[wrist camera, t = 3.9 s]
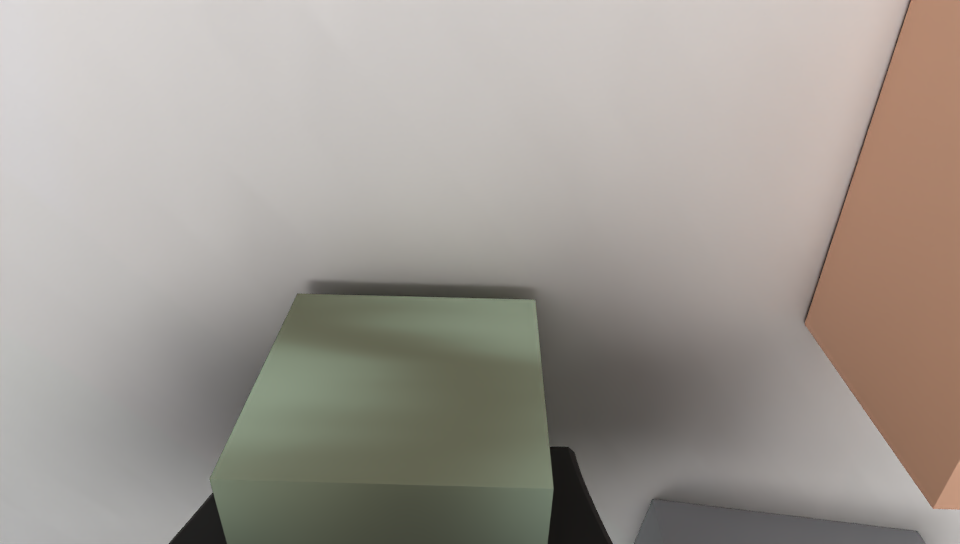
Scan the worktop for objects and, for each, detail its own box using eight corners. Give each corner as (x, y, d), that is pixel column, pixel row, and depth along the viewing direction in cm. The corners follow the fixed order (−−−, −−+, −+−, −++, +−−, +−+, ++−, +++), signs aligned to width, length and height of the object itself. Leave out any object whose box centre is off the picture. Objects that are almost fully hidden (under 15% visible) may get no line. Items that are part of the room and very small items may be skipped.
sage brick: (331, 528, 14) (280, 736, 11) (297, 293, 11) (209, 479, 8) (518, 534, 14) (526, 743, 11) (535, 299, 11) (553, 488, 8)
